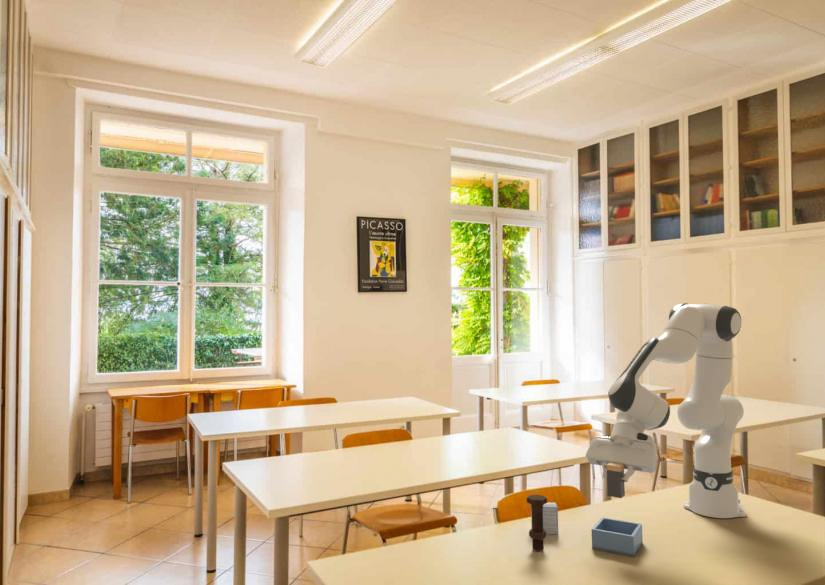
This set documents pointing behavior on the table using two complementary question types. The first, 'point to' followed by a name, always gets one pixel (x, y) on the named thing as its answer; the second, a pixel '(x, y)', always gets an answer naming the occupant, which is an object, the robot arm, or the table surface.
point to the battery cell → (615, 480)
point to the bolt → (537, 521)
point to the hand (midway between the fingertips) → (614, 479)
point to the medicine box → (549, 518)
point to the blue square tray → (617, 536)
